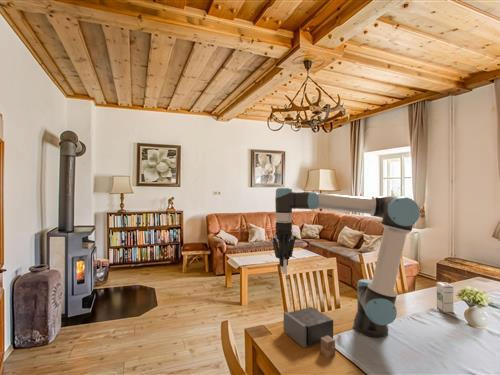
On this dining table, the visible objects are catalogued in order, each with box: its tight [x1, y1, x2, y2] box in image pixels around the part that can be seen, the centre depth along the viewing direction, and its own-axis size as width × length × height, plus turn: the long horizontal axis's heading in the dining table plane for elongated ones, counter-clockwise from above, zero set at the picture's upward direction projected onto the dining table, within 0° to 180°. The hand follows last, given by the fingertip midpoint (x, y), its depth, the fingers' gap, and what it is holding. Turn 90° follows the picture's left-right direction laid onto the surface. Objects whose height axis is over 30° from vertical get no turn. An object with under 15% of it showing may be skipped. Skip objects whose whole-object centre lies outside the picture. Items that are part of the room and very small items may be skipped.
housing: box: [288, 306, 334, 348], centre depth 128 cm, size 14×15×8 cm
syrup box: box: [436, 281, 455, 313], centre depth 154 cm, size 6×6×14 cm
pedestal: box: [320, 336, 336, 358], centre depth 113 cm, size 4×4×6 cm
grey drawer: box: [283, 311, 307, 348], centre depth 127 cm, size 15×15×9 cm
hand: (283, 273), depth 127 cm, fingers closed
